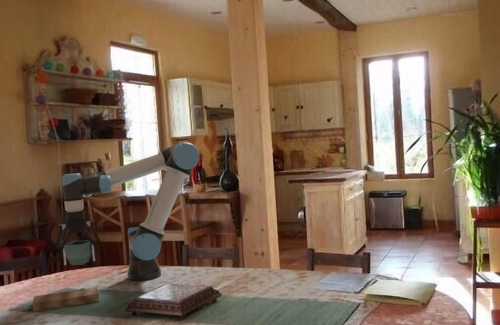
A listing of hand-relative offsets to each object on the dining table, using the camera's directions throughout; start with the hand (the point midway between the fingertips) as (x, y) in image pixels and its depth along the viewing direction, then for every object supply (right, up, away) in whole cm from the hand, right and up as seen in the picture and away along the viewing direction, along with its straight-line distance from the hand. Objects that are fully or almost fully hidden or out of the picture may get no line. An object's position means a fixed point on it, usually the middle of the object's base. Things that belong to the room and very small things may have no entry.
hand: (79, 262), depth 236 cm
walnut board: (-1, -13, -15) cm, 20 cm away
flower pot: (0, -1, 0) cm, 1 cm away
